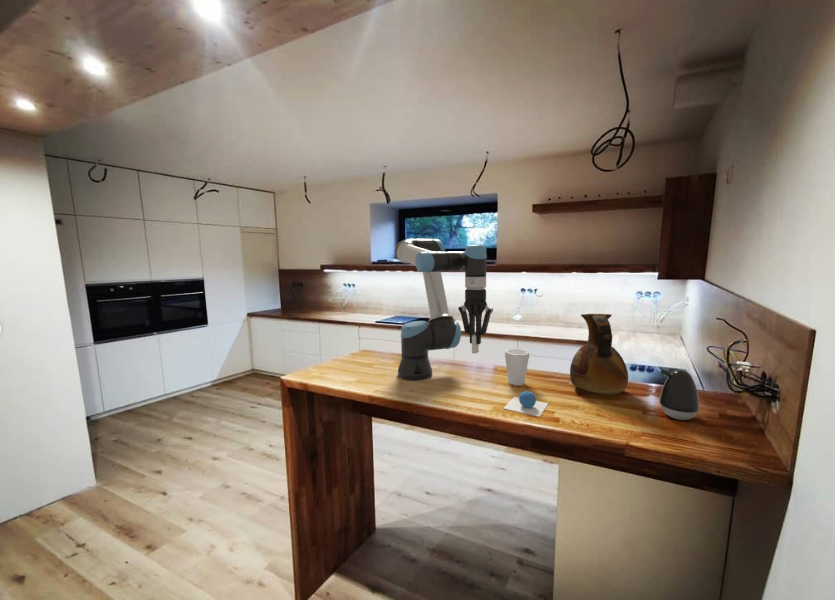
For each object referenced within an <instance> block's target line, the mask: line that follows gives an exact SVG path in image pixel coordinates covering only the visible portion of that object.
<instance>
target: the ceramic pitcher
mask: <svg viewBox="0 0 835 600" xmlns="http://www.w3.org/2000/svg"><path fill="white" fill-rule="evenodd" d="M612 315H613V314H612V313H611V314H610V313H586V314H585V313H583V314H580V316H581V317H582V318H583V319H584V321H585V323H586V325H587V329H588V336H587V337H588V338H587V341H586V343H585V344H584V345H582V346H581V347H580V348H579V349H578V350H577V351H576V353H575V354H574V356H573V357H572V360H571V363H570V367H569V375H570V377H569V378H570V382H571V384H572V385H573V386H574V387H576V388H579V389H581V390H584V391H588V392H589V393H590V392H591V393H597V394H602V395H603V394H604V395H610V396H613V395H618V394H620V393H623V392H624V391H625V390H626V389H627V387H628V384H629V371H628V368H627V365H626V363H625V360H624V358H623V357H622V355H621V354H620V353H619V351H618V350H616V348H614V347H613V346H612V344H613V332H612V327H611V323H610V320H609V319H610V318H611V317H612Z"/></svg>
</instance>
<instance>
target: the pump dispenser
mask: <svg viewBox="0 0 835 600" xmlns="http://www.w3.org/2000/svg"><path fill="white" fill-rule="evenodd" d="M660 373H661V374H663V375H665V376H667V378H666V380H665V381H664V384H663V385H662V389H661V390H660V391H661V392H660V394H659V400H658V401H659V404H660V407H661V409H662V411H663V413H665V414H666V415H667V416H669V417H671V418H673V419H676V420H679V421H689V420H691V419H693V418H695V416H696V415H697V414H698V412H699V411H700V404H701V403H700V397H699V391H698V388H697V384H696V382H695V381H694V380H695V379H694V378H693V376H692V375H691V374H690V372H688V371H687V370H684V369H674V370H673V371H672V372H669V371H667V370H665V369H661V370H660Z"/></svg>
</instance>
